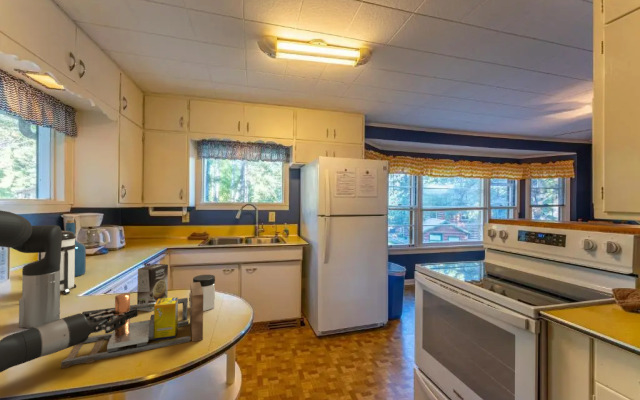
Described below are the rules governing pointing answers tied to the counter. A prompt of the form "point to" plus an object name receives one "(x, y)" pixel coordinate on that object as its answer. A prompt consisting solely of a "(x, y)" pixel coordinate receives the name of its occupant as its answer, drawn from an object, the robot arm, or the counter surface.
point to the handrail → (150, 305)
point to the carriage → (130, 327)
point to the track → (100, 339)
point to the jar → (207, 290)
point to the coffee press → (66, 261)
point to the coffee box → (152, 284)
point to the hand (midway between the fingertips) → (132, 310)
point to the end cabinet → (196, 311)
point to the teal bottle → (77, 251)
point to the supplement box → (165, 318)
